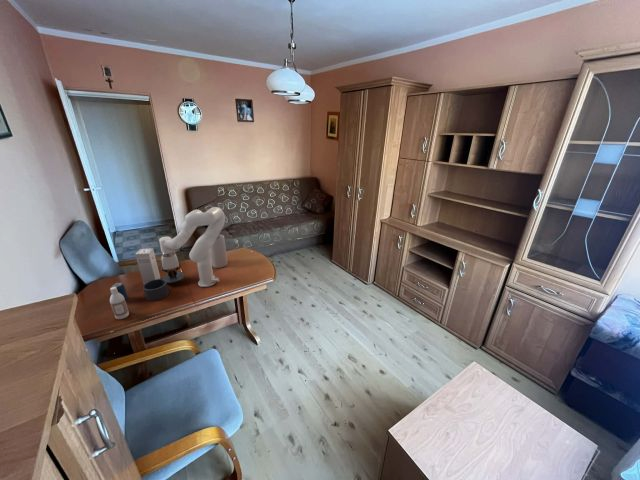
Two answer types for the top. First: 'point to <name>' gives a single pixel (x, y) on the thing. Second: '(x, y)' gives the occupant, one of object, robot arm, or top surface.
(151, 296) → the tin
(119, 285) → the soda can
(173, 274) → the tin lid
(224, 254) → the cylinder vase
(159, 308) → the top surface
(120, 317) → the bath foam
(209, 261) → the robot arm
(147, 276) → the box
